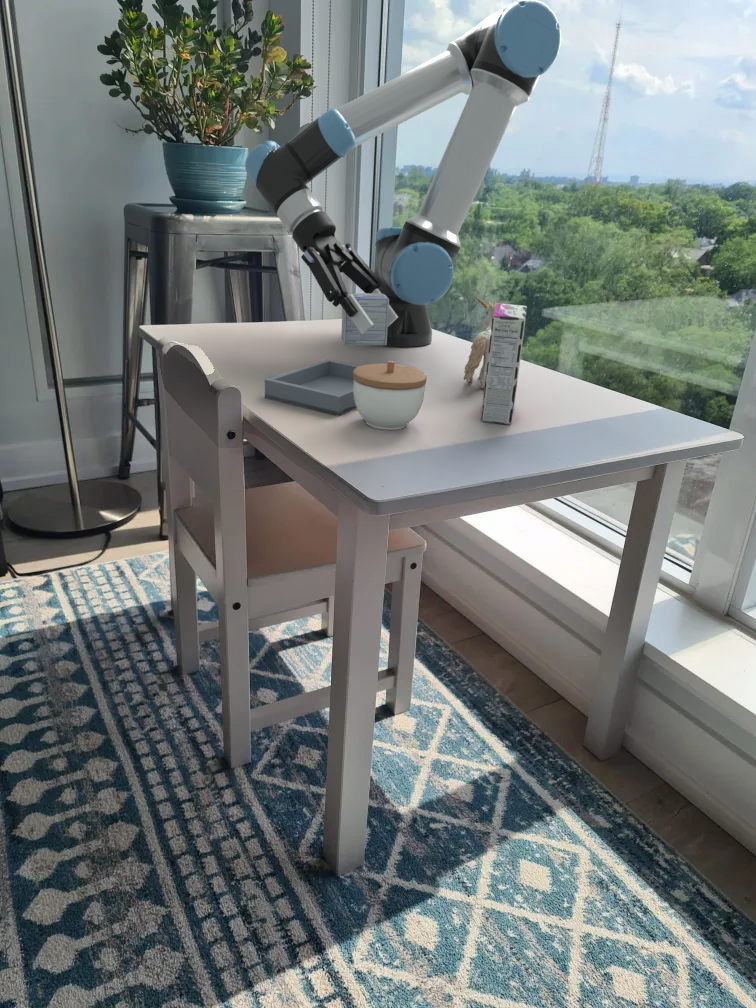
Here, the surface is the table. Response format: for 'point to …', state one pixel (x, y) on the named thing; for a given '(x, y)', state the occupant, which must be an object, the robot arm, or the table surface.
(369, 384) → the lidded jar
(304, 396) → the slate tray
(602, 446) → the table surface
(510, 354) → the candy bar box
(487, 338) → the unicorn figurine
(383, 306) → the medicine box
